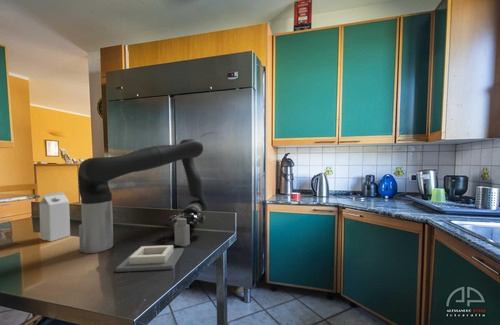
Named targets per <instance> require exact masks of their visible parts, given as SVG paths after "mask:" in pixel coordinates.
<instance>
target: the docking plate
mask: <svg viewBox="0 0 500 325" xmlns="http://www.w3.org/2000/svg"><path fill="white" fill-rule="evenodd" d="M183 252H184V247H178V248H177V247H176V248H175V247H174V245H173V244H172V245H171V244H170V245H169V244H168V245H144V246H143V245H142V246H140V247H139V248H138V249H136V250H134V252H132V253H131V254H129V256H128V257H127V258H126V259H124V260H123V261H122V262H121V263H120V264H119V265H118V266H116V268H115V272H116V273H119V272H122V273H123V272H139V271H141V272H142V271H144V272H145V271H158V270H159V271H161V270H163V271H165V270H173V269H174V267H175V266H176V264H177V263H178V261H179V259H180V258H181V256H182V254H183Z"/></svg>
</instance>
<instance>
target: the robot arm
mask: <svg viewBox="0 0 500 325" xmlns="http://www.w3.org/2000/svg"><path fill="white" fill-rule="evenodd" d="M203 152H204V145H203V143H202V142H201V141H200V140H199V139H198V140H197V139H195V138H194V139H193V138H187V139H186V138H185V139H182V140H181V141H180V142H179V143H177V144H164V145H163V144H162V145H153V146H148V147H144V148H140V149H137V150H133V151H132V152H129V153H126V154H122V155H115V156H105V157H98V156H97V157H89V158H86V159H85V160H82V162H81V163H80V164H79V167H78V171H77V174H78V175H77V176H78V192H79V197H80V201H81V202H80V203H81V207H80V208H81V224H79V225H78V232H79V233H78V235H79V237H78V238H79V241H78V242H79V253H84V254H96V253H101V252H104V251H108V250H110V249H111V248H112V247H113V246H114V225H113V223H114V222H113V221H114V220H113V194H112V192H111V189H110V188H109V181H112V180H114V179H116V178H119V177H121V176H125V175H127V174H132V173H136V172H137V173H138V172H143V171H147V170H152V169H156V168H158V167H162V166H165V165H169V164H172V163H174V162H178V161H181V162H182V165H183V169H184V173H185V175H186V180H187V188H188V194H189V196H190V197H192V198H197V199H194V200H190V201H189V202H188V204H187V207H185V209H183V210H182V212H181V213H180V218H183V213H184V218H186V223H187V225H189V226H190V225H192V226H193V227H196V226H197V225H198V224H204V223H205V220H206V218H205V216H206V215H205V213H201V214H200V213H199V211H206V212H207V211H208V210H209V204H208V201H207V199H206V197H205V194H204V191H203V182H202V179H201V176H200V174H199V172H198V170H197V167H196V166H195V163H194V158H197V157H199V156H201V155H202V154H203ZM177 218H179V214H178V215H175V214H172V215H171V216H169V217H168V218H167V220H168V222H167V223H168V225H169V226H170V227H171V228H173V227H174V225H176V224H177Z"/></svg>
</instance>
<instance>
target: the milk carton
mask: <svg viewBox="0 0 500 325" xmlns="http://www.w3.org/2000/svg"><path fill="white" fill-rule="evenodd" d="M38 205H39V230H40V231H39V234H40V235H39V236H40V240H41V239H42V240H43V241H46V240H47V241H48V242H54V241H57V240H60V239H64V238H67V237H71V222H70V221H71V219H70V216H71V215H70V201H69V199H68V197H67V196H66V195H65V192H64V191H62V192H54V193H53V192H52V193H44V194H43V198H42V199H41V201H40V202H39V203H38ZM47 241H46V242H47Z"/></svg>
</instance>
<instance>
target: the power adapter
mask: <svg viewBox="0 0 500 325" xmlns="http://www.w3.org/2000/svg"><path fill="white" fill-rule="evenodd" d="M178 215H179V218H177V220H176V222H177V224H175V225H174V228H173V229H174V245H175V246H180V247H187V246H189V245H190V244H191V240H190V239H191V237H190V236H191V235H190V225H188V224H187V223H186V218H184V213H183V218H180V215H181V212H180V211H179V214H178Z"/></svg>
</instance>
